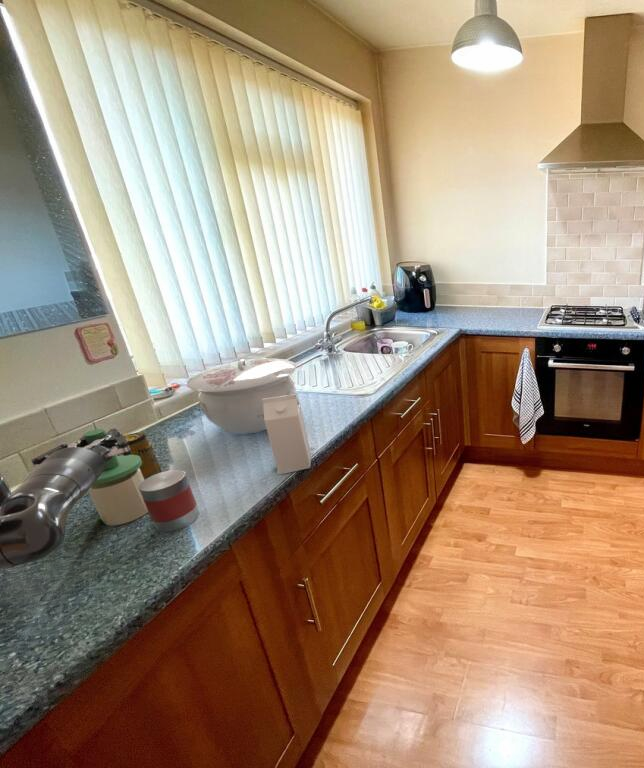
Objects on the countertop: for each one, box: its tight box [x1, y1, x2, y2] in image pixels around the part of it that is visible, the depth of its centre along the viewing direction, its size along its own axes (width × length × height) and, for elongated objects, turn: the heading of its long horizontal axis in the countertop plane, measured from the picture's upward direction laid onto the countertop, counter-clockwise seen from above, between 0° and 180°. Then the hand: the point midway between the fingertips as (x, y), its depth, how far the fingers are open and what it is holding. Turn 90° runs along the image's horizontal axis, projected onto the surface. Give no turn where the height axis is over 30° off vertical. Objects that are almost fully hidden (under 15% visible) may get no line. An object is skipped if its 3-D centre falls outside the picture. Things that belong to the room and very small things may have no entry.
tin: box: [139, 469, 200, 533], centre depth 82 cm, size 7×7×10 cm
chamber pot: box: [186, 357, 297, 435], centre depth 120 cm, size 28×28×21 cm
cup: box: [87, 468, 149, 526], centre depth 84 cm, size 8×8×9 cm
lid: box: [83, 428, 142, 485], centre depth 81 cm, size 10×10×9 cm
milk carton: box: [262, 393, 312, 475], centre depth 99 cm, size 7×7×19 cm
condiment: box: [116, 432, 163, 480], centre depth 94 cm, size 7×8×12 cm
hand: (103, 434), depth 82 cm, fingers closed on lid, 3 cm apart
